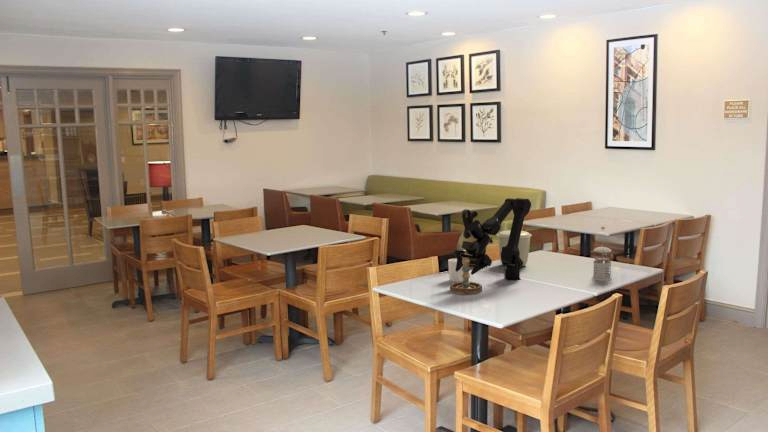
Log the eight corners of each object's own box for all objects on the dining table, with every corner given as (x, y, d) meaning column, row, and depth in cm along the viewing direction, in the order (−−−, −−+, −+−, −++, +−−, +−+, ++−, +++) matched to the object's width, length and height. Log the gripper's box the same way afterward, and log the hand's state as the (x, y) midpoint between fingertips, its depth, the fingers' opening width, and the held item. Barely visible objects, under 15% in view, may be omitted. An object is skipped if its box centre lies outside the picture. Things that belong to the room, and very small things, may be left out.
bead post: (471, 287, 301) (471, 256, 300) (469, 289, 298) (469, 258, 296) (462, 287, 303) (462, 256, 301) (460, 289, 299) (460, 258, 297)
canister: (494, 268, 346) (494, 228, 343) (498, 261, 363) (498, 223, 360) (530, 269, 340) (530, 228, 338) (532, 262, 358) (533, 223, 355)
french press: (589, 279, 316) (590, 227, 312) (593, 274, 326) (594, 224, 323) (610, 281, 311) (612, 228, 308) (615, 276, 321) (616, 225, 318)
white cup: (464, 282, 316) (464, 261, 314) (447, 282, 317) (447, 261, 316) (465, 278, 323) (465, 258, 322) (449, 278, 325) (449, 258, 324)
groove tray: (478, 286, 308) (478, 281, 307) (485, 293, 293) (485, 288, 293) (447, 287, 307) (447, 282, 307) (452, 294, 293) (452, 289, 293)
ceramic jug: (466, 260, 368) (466, 206, 364) (491, 263, 358) (491, 208, 354) (449, 265, 355) (448, 209, 351) (474, 269, 345) (474, 211, 341)
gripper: (456, 232, 307) (439, 259, 301) (487, 236, 293) (470, 264, 287) (468, 246, 313) (451, 273, 307) (499, 251, 299) (482, 279, 293)
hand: (463, 272), depth 298 cm, fingers open, 9 cm apart
